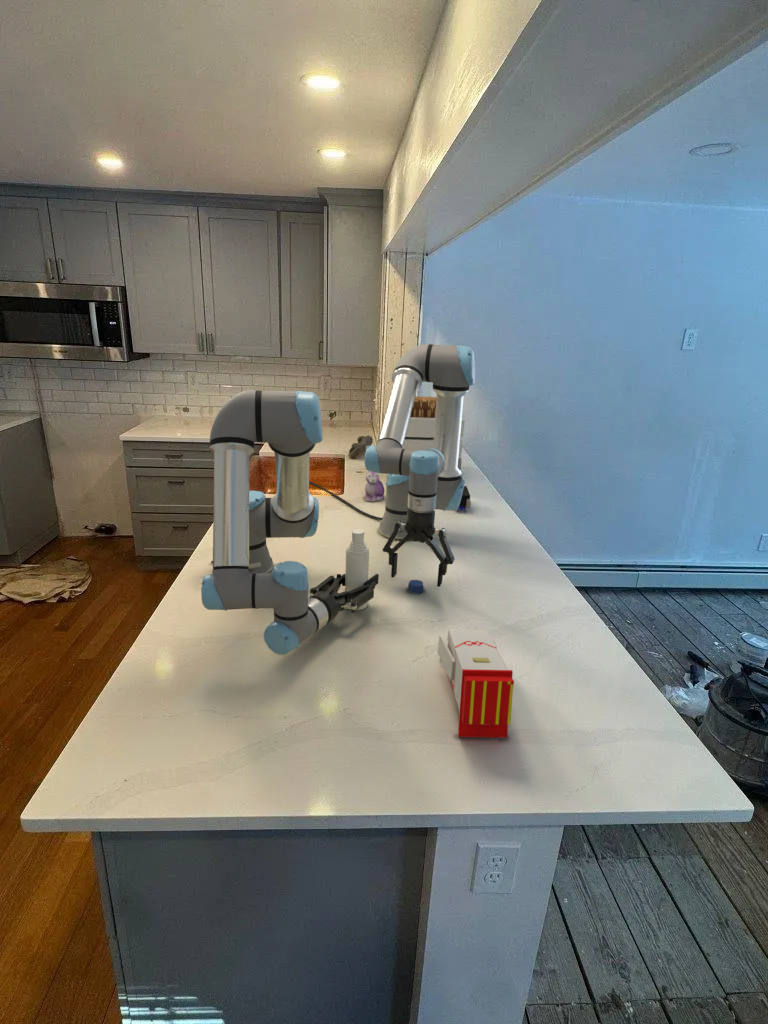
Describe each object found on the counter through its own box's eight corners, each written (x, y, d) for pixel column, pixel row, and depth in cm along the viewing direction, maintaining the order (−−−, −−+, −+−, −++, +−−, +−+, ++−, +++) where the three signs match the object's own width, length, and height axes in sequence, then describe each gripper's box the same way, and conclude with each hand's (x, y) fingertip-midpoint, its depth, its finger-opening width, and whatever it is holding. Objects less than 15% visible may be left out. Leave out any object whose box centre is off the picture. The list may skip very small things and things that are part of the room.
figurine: (369, 503, 229) (370, 467, 224) (358, 496, 237) (359, 461, 232) (389, 500, 233) (391, 465, 228) (378, 493, 242) (380, 459, 236)
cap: (422, 594, 158) (422, 587, 158) (407, 592, 159) (407, 585, 158) (424, 587, 162) (424, 580, 162) (409, 585, 163) (409, 578, 162)
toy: (488, 613, 130) (523, 677, 101) (484, 667, 133) (517, 744, 104) (435, 612, 130) (455, 676, 101) (432, 666, 133) (451, 743, 103)
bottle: (348, 611, 148) (349, 536, 141) (342, 600, 153) (343, 528, 146) (369, 608, 150) (372, 534, 142) (363, 598, 155) (366, 526, 148)
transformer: (382, 463, 289) (386, 382, 275) (445, 464, 293) (451, 384, 279) (390, 482, 257) (394, 392, 243) (460, 483, 261) (468, 394, 247)
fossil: (348, 441, 313) (370, 426, 308) (359, 455, 316) (380, 440, 311) (342, 455, 293) (365, 439, 288) (353, 469, 296) (376, 454, 291)
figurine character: (470, 516, 223) (465, 500, 237) (473, 499, 220) (467, 484, 233) (453, 516, 223) (449, 500, 236) (455, 498, 220) (451, 483, 233)
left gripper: (285, 614, 140) (337, 579, 159) (350, 637, 131) (396, 597, 150) (284, 587, 137) (337, 554, 156) (351, 608, 129) (398, 571, 148)
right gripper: (373, 506, 153) (370, 576, 160) (463, 520, 145) (456, 594, 153) (382, 498, 160) (379, 566, 167) (469, 511, 152) (462, 582, 159)
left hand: (366, 575), depth 153 cm, fingers closed on bottle, 6 cm apart
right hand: (416, 580), depth 160 cm, fingers open, 13 cm apart
